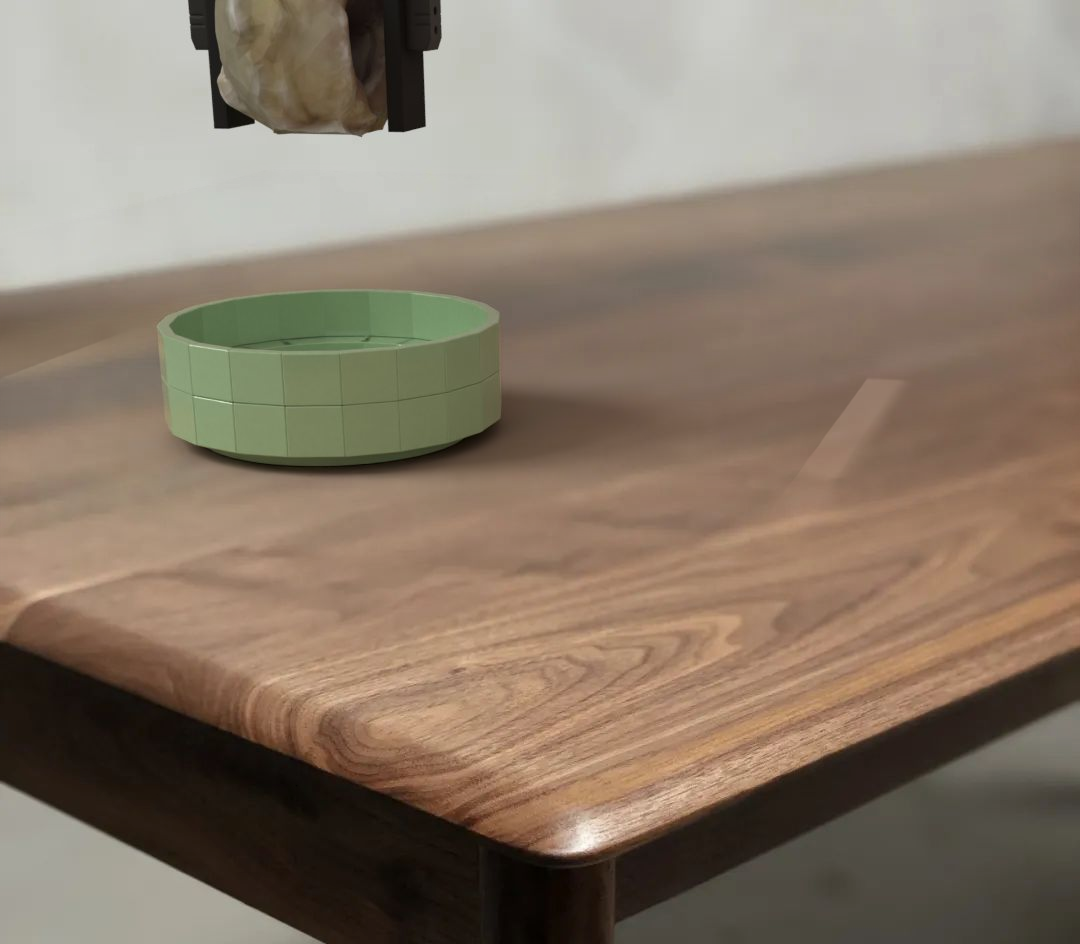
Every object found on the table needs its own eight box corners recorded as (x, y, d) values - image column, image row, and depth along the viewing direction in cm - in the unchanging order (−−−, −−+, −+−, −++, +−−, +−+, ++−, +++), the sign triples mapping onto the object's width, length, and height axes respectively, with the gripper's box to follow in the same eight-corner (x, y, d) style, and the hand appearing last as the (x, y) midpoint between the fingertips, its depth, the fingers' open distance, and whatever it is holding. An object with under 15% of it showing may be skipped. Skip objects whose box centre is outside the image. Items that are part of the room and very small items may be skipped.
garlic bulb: (253, 197, 82) (160, -26, 77) (259, 144, 90) (174, -64, 84) (451, 126, 82) (371, -104, 76) (442, 78, 89) (368, -135, 83)
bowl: (105, 460, 86) (93, 342, 84) (259, 385, 100) (252, 282, 98) (430, 486, 81) (426, 362, 79) (544, 404, 95) (543, 296, 93)
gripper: (555, -453, 76) (559, 124, 85) (111, -418, 82) (158, 117, 91) (495, -489, 70) (506, 140, 78) (17, -449, 76) (78, 131, 84)
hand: (319, 127), depth 85 cm, fingers closed on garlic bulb, 8 cm apart
